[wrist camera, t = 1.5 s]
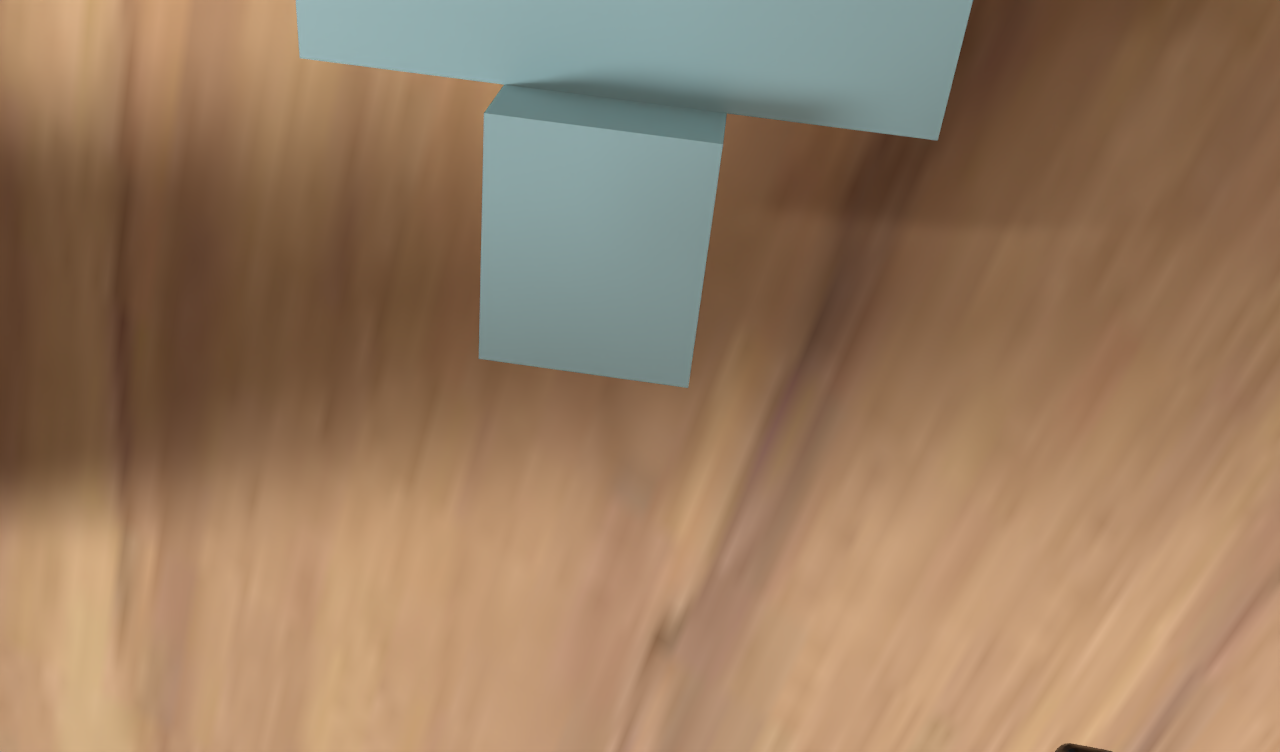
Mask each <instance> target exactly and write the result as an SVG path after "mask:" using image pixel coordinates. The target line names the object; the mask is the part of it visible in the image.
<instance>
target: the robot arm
mask: <svg viewBox="0 0 1280 752" xmlns="http://www.w3.org/2000/svg"><path fill="white" fill-rule="evenodd" d="M1055 752H1112V751H1108V750H1103V749H1098V748H1093V747H1087V746H1082V745H1077V744H1071V743H1069V744H1063V745H1061V746H1060V747H1059V748H1057V750H1056V751H1055Z"/></svg>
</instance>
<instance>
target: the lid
mask: <svg viewBox="0 0 1280 752" xmlns="http://www.w3.org/2000/svg"><path fill="white" fill-rule="evenodd" d="M972 2H973V0H296V11H297V25H298V40H299V54H300V58H303V59H311V60H319V61H326V62H334V63H342V64H349V65H357V66H365V67H373V68H380V69H388V70H396V71H404V72H411V73H419V74H427V75H435V76H442V77H450V78H458V79H465V80H473V81H481V82H489V83H496V84H504V86H503V87H502V88H501V90H500V91H499V93H498V94H497V95H496V97H495V98H494V100H493V101H492V103H491V104H490V105H489V107H488V108H487V110H486V111H485V112H484V137H483V184H482V231H481V277H480V324H479V359H484V360H491V361H499V362H506V363H513V364H520V365H527V366H534V367H542V368H549V369H556V370H563V371H570V372H578V373H585V374H592V375H599V376H606V377H613V378H621V379H628V380H635V381H642V382H649V383H656V384H664V385H671V386H678V387H685V388H688V385H689V378H690V371H691V364H692V357H693V351H694V344H695V337H696V330H697V323H698V316H699V309H700V302H701V295H702V288H703V281H704V274H705V267H706V260H707V253H708V246H709V239H710V232H711V225H712V218H713V211H714V204H715V197H716V190H717V183H718V176H719V169H720V162H721V155H722V148H723V140H724V132H725V124H726V116H727V113H728V114H736V115H744V116H752V117H759V118H767V119H775V120H782V121H790V122H798V123H806V124H813V125H821V126H829V127H837V128H844V129H852V130H860V131H868V132H875V133H883V134H891V135H898V136H906V137H914V138H922V139H929V140H937V141H938V137H939V133H940V129H941V125H942V121H943V117H944V113H945V109H946V105H947V101H948V98H949V94H950V90H951V86H952V82H953V78H954V74H955V70H956V66H957V62H958V58H959V54H960V50H961V46H962V42H963V38H964V34H965V30H966V26H967V22H968V18H969V14H970V10H971V6H972Z"/></svg>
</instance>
